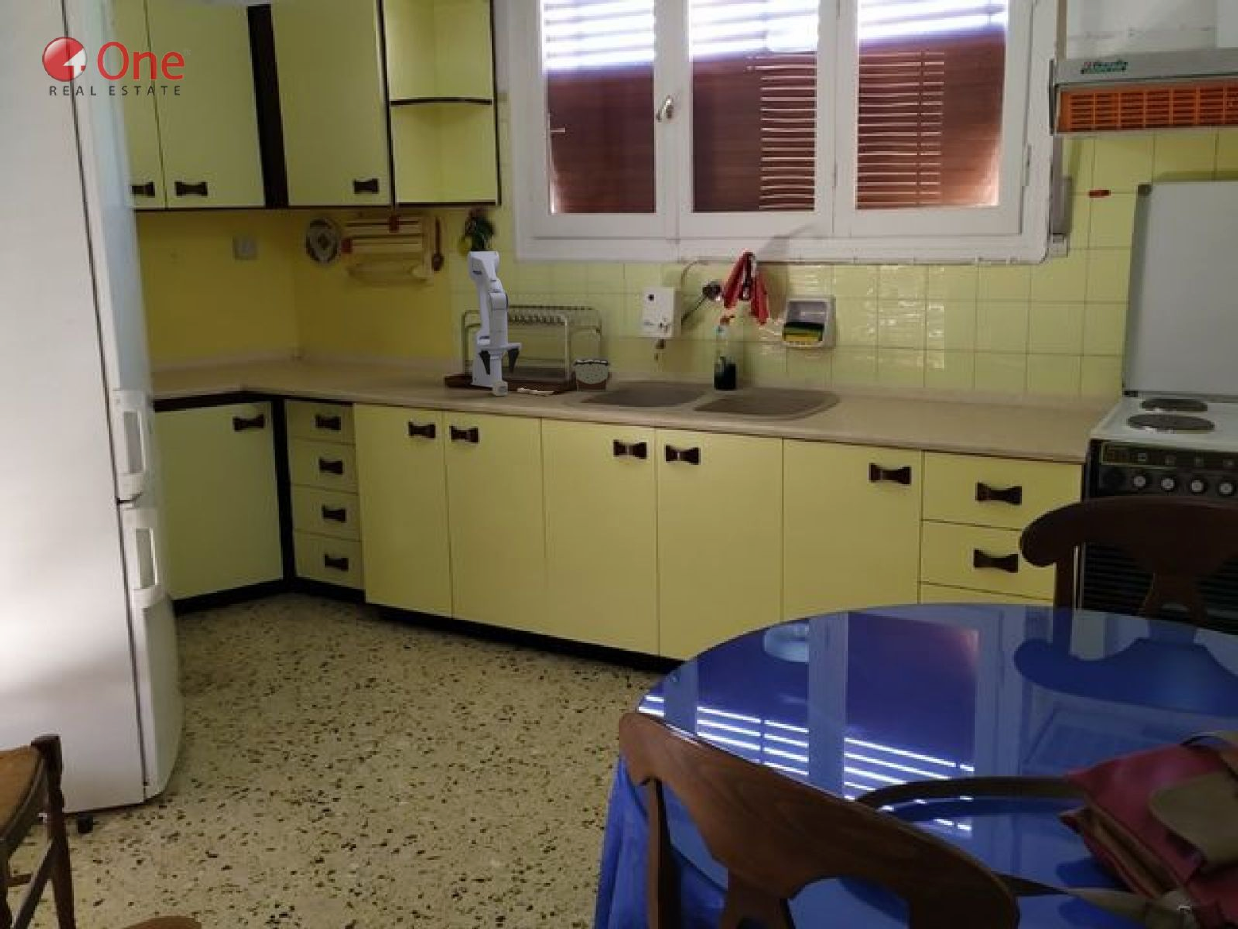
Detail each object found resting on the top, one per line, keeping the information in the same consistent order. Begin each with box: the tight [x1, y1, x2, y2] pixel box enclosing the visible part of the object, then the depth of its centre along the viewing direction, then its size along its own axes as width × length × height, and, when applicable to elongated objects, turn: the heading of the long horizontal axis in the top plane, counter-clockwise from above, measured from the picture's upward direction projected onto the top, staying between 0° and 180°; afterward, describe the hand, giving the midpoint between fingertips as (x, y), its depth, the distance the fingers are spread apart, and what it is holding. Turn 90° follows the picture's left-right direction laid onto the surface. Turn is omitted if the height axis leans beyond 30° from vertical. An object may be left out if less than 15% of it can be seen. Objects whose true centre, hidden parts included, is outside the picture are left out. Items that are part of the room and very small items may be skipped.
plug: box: [492, 379, 509, 397], centre depth 375 cm, size 8×4×4 cm, turn 24°
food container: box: [572, 356, 611, 392], centre depth 382 cm, size 12×6×10 cm, turn 84°
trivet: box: [517, 387, 554, 397], centre depth 380 cm, size 12×12×1 cm
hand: (499, 373), depth 374 cm, fingers open, 7 cm apart
